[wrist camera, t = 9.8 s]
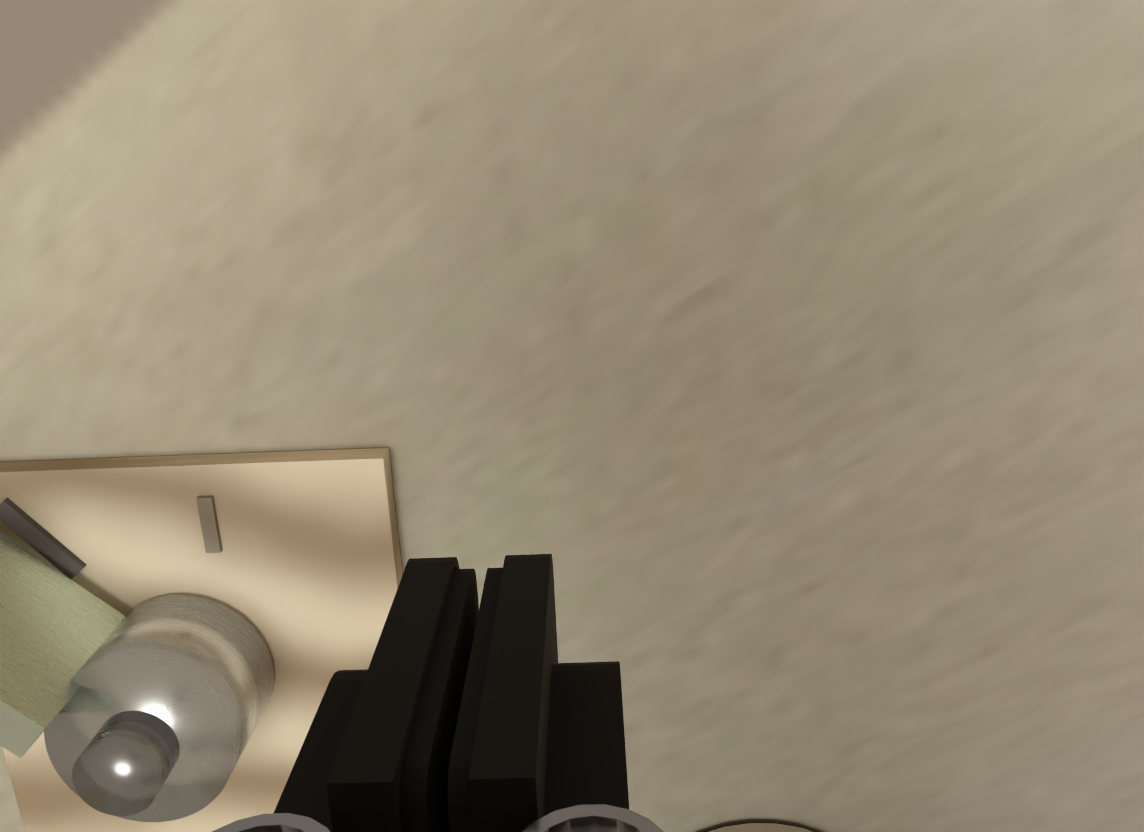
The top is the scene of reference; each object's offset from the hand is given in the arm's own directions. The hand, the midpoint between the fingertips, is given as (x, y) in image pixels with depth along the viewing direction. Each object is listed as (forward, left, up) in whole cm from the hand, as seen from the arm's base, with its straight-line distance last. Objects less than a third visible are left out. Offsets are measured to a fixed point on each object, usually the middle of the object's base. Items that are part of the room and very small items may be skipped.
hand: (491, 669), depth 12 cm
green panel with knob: (-12, +20, -26) cm, 35 cm away
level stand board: (-16, +16, -27) cm, 35 cm away
